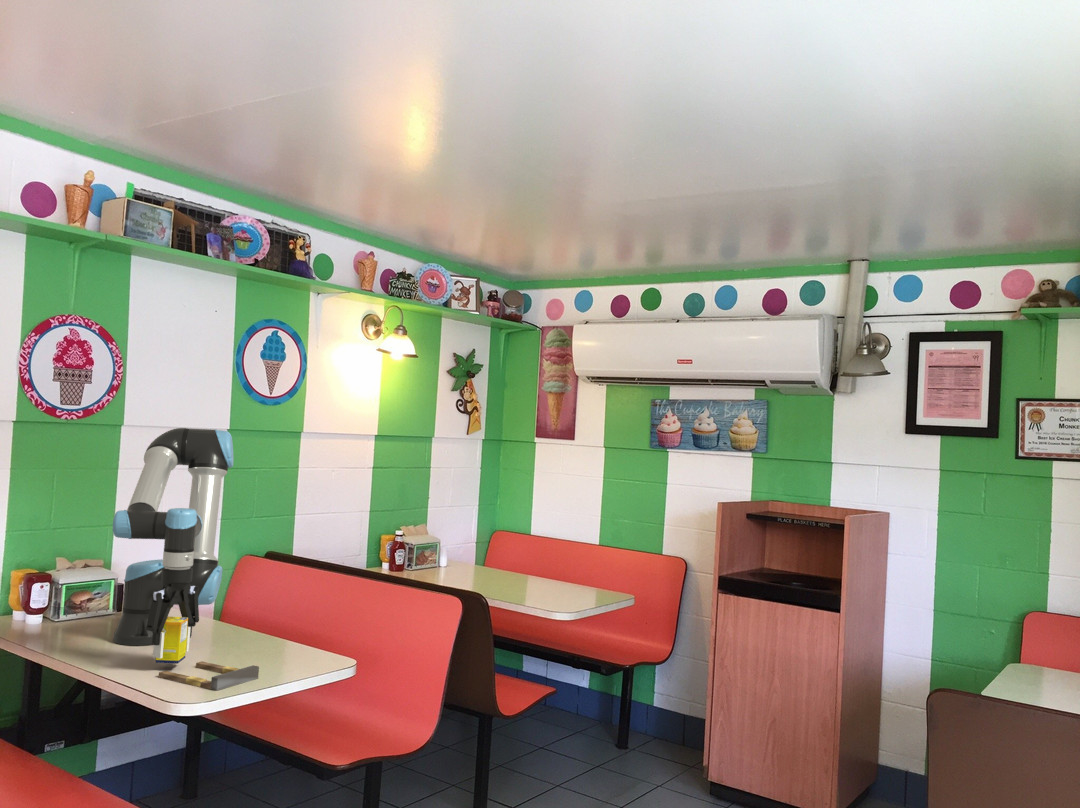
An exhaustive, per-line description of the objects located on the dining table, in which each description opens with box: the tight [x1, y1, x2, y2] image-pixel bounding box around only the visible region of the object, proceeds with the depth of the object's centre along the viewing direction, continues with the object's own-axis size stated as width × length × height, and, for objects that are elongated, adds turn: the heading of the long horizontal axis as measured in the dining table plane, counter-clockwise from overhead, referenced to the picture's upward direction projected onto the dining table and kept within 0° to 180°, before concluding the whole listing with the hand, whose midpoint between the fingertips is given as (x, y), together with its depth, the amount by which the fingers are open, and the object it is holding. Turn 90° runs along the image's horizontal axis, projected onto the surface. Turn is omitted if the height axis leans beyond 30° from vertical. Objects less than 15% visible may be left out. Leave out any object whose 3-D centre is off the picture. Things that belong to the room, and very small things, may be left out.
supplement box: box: [155, 616, 188, 664], centre depth 226 cm, size 6×6×11 cm
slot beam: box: [158, 660, 260, 692], centre depth 219 cm, size 20×14×3 cm
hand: (171, 653), depth 225 cm, fingers closed on supplement box, 8 cm apart
